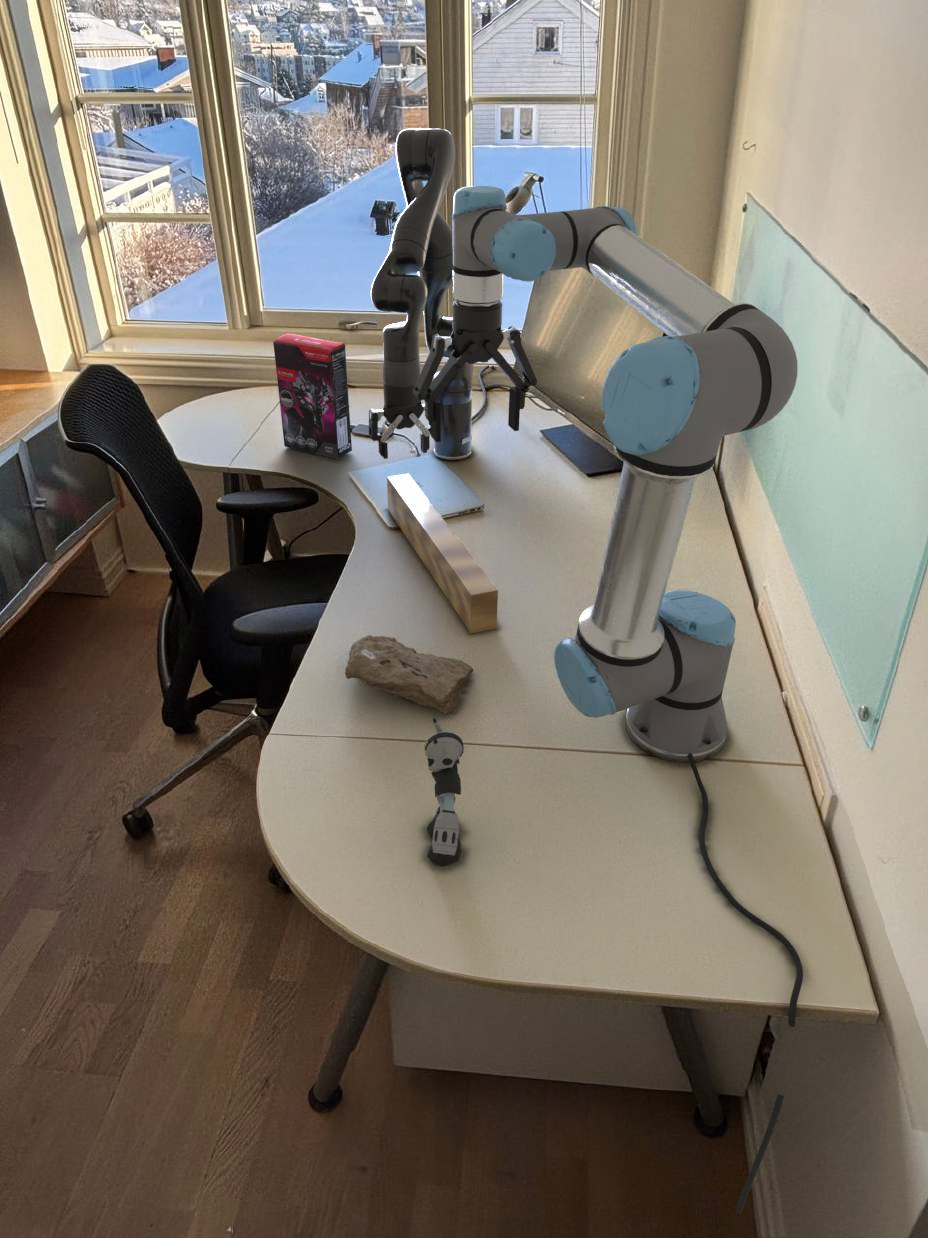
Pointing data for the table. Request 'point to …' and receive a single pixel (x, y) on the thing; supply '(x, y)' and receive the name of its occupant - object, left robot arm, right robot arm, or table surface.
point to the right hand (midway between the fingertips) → (475, 433)
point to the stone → (408, 672)
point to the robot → (444, 794)
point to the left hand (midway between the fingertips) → (404, 454)
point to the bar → (443, 554)
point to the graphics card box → (313, 395)
